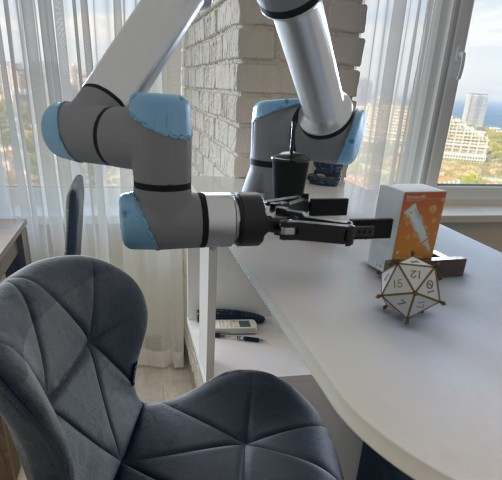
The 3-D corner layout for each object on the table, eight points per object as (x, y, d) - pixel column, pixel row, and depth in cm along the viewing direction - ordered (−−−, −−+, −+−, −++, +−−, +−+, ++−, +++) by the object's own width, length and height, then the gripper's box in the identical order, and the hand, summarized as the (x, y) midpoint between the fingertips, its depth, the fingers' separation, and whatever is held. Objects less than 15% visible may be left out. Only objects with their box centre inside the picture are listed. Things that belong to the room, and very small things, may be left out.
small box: (388, 276, 79) (404, 191, 73) (366, 264, 84) (378, 183, 78) (430, 272, 82) (448, 190, 76) (405, 260, 87) (420, 182, 81)
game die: (391, 334, 68) (397, 265, 70) (454, 333, 63) (459, 257, 65) (357, 318, 62) (365, 241, 64) (425, 314, 56) (431, 230, 58)
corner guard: (337, 247, 92) (339, 232, 91) (403, 244, 96) (406, 230, 95) (386, 280, 77) (389, 262, 76) (463, 275, 81) (467, 258, 80)
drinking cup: (277, 221, 107) (285, 119, 98) (310, 227, 104) (321, 122, 95) (259, 228, 101) (265, 120, 92) (293, 235, 98) (303, 123, 89)
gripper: (212, 223, 83) (329, 220, 89) (258, 274, 62) (408, 266, 68) (213, 176, 80) (334, 177, 86) (262, 213, 59) (419, 210, 65)
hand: (367, 216), depth 77 cm, fingers open, 13 cm apart
